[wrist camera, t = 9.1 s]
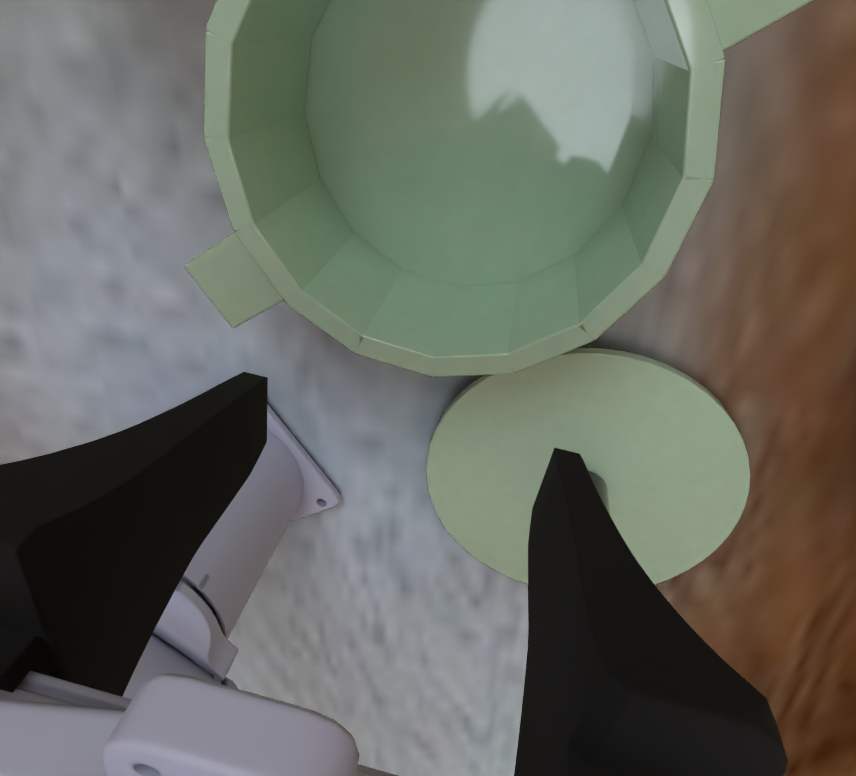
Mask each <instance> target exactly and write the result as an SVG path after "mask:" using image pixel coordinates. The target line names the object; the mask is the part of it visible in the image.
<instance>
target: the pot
mask: <svg viewBox="0 0 856 776" xmlns="http://www.w3.org/2000/svg"><path fill="white" fill-rule="evenodd" d="M812 1H814V0H217V2H216V4H215V7H214V9H213V12H212V14H211V17H210V19H209V22H208V24H207V27H206V30H207V31H206V44H205V102H204V137H206V138H204V141H205V144H206V147H207V150H208V153H209V157H210V160H211V163H212V166H213V169H214V172H215V175H216V178H217V181H218V184H219V187H220V190H221V193H222V197H223V200H224V203H225V206H226V209H227V212H228V215H229V218H230V221H231V224H232V227H233V230H234V231H235V232H234V233H233V234H231V235H230V236H228V237H227V238H225V239H224V240H222V241H221V242H219V243H218V244H216V245H215V246H213V247H212V248H210V249H209V250H207V251H205V252H204V253H202V254H201V255H199V256H198V257H196V258H195V259H193V260H192V261H190V262H189V263H188V264H186V265H185V269H186V270H187V271H188V272H189V274H190V275H191V276H192V278H193V279H194V280H195V281H196V283H197V284H198V285H199V286H200V288H201V289H202V290H203V292H204V293H205V294H206V295H207V297H208V298H209V299H210V300H211V302H212V303H213V304H214V305H215V307H216V308H217V309H218V311H219V312H220V313H221V314H222V316H223V317H224V318H225V319H226V321H227V322H228V323H229V325H230V326H231V327H232V328H235V327H237V326H239V325H241V324H242V323H244V322H246V321H248V320H249V319H251V318H253V317H255V316H257V315H258V314H260V313H262V312H264V311H265V310H267V309H269V308H271V307H272V306H274V305H276V304H278V303H280V302H281V301H283V300H284V301H285V302H286V303H288V306H290V307H291V308H293V309H294V310H295V311H297V312H298V313H300V314H301V315H302V316H304V317H305V318H306V319H308V320H309V321H311V322H312V323H313V324H315V325H316V326H318V327H319V328H320V329H322V330H323V331H325V332H326V333H327V334H329V335H330V336H332V337H333V338H334V339H336V340H337V341H338V342H340V343H341V344H343V345H344V346H345V347H347V348H348V349H350V350H351V351H352V352H354V353H356V354H359V355H362V356H365V357H369V358H372V359H375V360H378V361H382V362H385V363H388V364H391V365H395V366H398V367H401V368H404V369H408V370H411V371H414V372H417V373H421V374H424V375H427V376H430V377H432V376H433V377H442V376H468V375H494V374H513V373H517V372H519V371H521V370H524V369H526V368H529V367H531V366H534V365H536V364H539V363H541V362H544V361H546V360H548V359H551V358H553V357H556V356H558V355H561V354H563V353H566V352H568V351H571V350H573V349H576V348H578V347H580V346H583V345H585V344H588V343H590V342H592V341H593V340H596V339H597V338H598V337H600V336H601V335H602V334H603V333H604V332H605V331H606V330H607V329H608V328H609V327H610V326H612V325H613V324H614V323H615V322H616V321H617V320H618V319H619V318H620V317H621V316H623V315H624V314H625V313H626V312H627V311H628V310H629V309H630V308H631V307H632V306H633V305H635V304H636V303H637V302H638V301H639V300H640V299H641V298H642V297H643V296H644V295H646V294H647V293H648V292H649V291H650V290H651V289H652V288H653V287H654V286H655V285H656V284H658V283H659V282H660V281H661V280H662V279H663V278H664V276H665V275H666V274H667V272H668V270H669V268H670V266H671V264H672V262H673V260H674V258H675V256H676V255H677V253H678V251H679V249H680V247H681V245H682V243H683V241H684V239H685V237H686V235H687V233H688V231H689V229H690V227H691V225H692V223H693V221H694V219H695V217H696V215H697V213H698V211H699V209H700V207H701V205H702V203H703V201H704V199H705V197H706V195H707V193H708V191H709V189H710V187H711V185H712V184H713V179H714V177H715V166H716V156H717V145H718V134H719V124H720V113H721V102H722V91H723V81H724V70H725V60H724V52H723V51H725V50H727V49H729V48H731V47H732V46H734V45H736V44H738V43H739V42H741V41H743V40H745V39H746V38H748V37H750V36H752V35H754V34H755V33H757V32H759V31H761V30H762V29H764V28H766V27H768V26H769V25H771V24H773V23H775V22H777V21H778V20H780V19H782V18H784V17H785V16H787V15H789V14H791V13H792V12H794V11H796V10H798V9H800V8H801V7H803V6H805V5H807V4H808V3H810V2H812Z"/></svg>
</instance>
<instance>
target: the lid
mask: <svg viewBox="0 0 856 776" xmlns="http://www.w3.org/2000/svg"><path fill="white" fill-rule="evenodd" d="M554 448H559V449H563V450H567V451H571V452H575V453H579V454H580V455H581V457H582V458H583V460H584V463H585V465H586V467H587V469H588V472H589V474H590V476H591V478H592V480H593V483H594V485H595V487H596V489H597V491H598V493H599V495H600V497H601V499H602V501H603V503H604V505H605V507H606V509H607V511H608V513H609V515H610V516H611V518H612V520H613V522H614V524H615V526H616V527H617V529H618V531H619V533H620V534H621V536H622V538H623V539H624V541H625V543H626V544H627V546H628V547H629V549H630V551H631V552H632V554H633V555H634V557H635V558H636V560H637V562H638V563H639V564H640V566H641V567H642V568H643V570H644V571H645V573H646V574H647V575H648V577H649V578H650V579H651V581H652V582H653V583H654V584H657V583H660V582H663V581H665V580H668V579H671V578H673V577H675V576H677V575H679V574H681V573H683V572H685V571H687V570H689V569H691V568H692V567H694V566H695V565H697V564H698V563H700V562H701V561H703V560H704V559H705V558H707V557H708V556H709V555H710V554H711V553H713V552H714V551H715V550H716V549H717V548H718V547H719V546H720V545H721V544H722V543H723V542H724V541H725V540H726V538H727V537H728V536H729V535H730V533H731V532H732V530H733V529H734V527H735V526H736V524H737V523H738V521H739V519H740V517H741V514H742V512H743V510H744V508H745V505H746V501H747V497H748V493H749V487H750V465H749V457H748V453H747V450H746V447H745V444H744V441H743V438H742V436H741V434H740V432H739V430H738V428H737V426H736V424H735V422H734V420H733V418H732V417H731V415H730V414H729V413H728V412H727V410H726V409H725V408H724V406H723V405H722V404H721V402H720V401H719V400H718V399H717V398H716V397H714V396H713V395H712V394H711V393H710V392H709V391H708V390H707V389H706V388H705V387H704V386H702V385H701V384H699V383H698V382H696V381H695V380H694V379H692V378H691V377H689V376H688V375H686V374H684V373H682V372H681V371H679V370H677V369H675V368H673V367H671V366H669V365H667V364H664V363H662V362H659V361H656V360H654V359H651V358H648V357H645V356H641V355H637V354H633V353H629V352H625V351H619V350H611V349H603V348H576V349H573V350H571V351H568V352H566V353H563V354H561V355H558V356H556V357H553V358H551V359H548V360H546V361H544V362H541V363H539V364H536V365H534V366H531V367H529V368H526V369H524V370H521V371H519V372H517V373H513V374H494V375H483V376H482V377H480V378H479V379H477V380H476V381H474V382H473V383H471V384H470V385H469V386H468V387H467V388H466V389H465V390H463V391H462V392H461V393H460V394H459V395H458V396H457V397H456V398H455V399H454V401H453V402H452V403H451V404H450V405H449V407H448V408H447V409H446V411H445V412H444V414H443V415H442V417H441V419H440V420H439V422H438V424H437V426H436V429H435V431H434V434H433V436H432V439H431V442H430V446H429V451H428V455H427V465H426V477H427V485H428V490H429V494H430V498H431V501H432V504H433V506H434V508H435V511H436V513H437V515H438V517H439V519H440V520H441V522H442V523H443V525H444V526H445V528H446V530H447V531H448V532H449V533H450V534H451V535H452V537H453V538H454V539H455V540H456V541H457V542H458V543H459V544H460V545H461V546H462V547H463V548H464V549H465V550H466V551H467V552H468V553H470V554H471V555H472V556H474V557H475V558H476V559H478V560H479V561H480V562H482V563H483V564H485V565H487V566H488V567H490V568H492V569H493V570H495V571H497V572H499V573H501V574H503V575H506V576H508V577H510V578H512V579H515V580H518V581H520V582H523V583H526V584H528V540H529V531H530V523H531V515H532V508H533V505H534V502H535V499H536V497H537V494H538V491H539V489H540V486H541V483H542V480H543V478H544V475H545V472H546V469H547V467H548V464H549V461H550V458H551V456H552V453H553V450H554Z"/></svg>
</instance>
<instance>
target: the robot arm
mask: <svg viewBox="0 0 856 776" xmlns="http://www.w3.org/2000/svg"><path fill="white" fill-rule="evenodd" d="M321 499H323V500H324V501H322V500H321ZM340 499H341V495H340V493H339V492H338V491H337V489H336V488H335V487H334V486H333V484H332V483H331V482H330V481H329V479H328V478H327V477H326V476H325V474H324V473H323V472H322V471H321V469H320V468H319V467H318V466H317V465H316V463H315V462H314V461H313V460H312V458H311V457H310V456H309V455H308V453H307V452H306V451H305V450H304V448H303V447H302V446H301V445H300V444H299V442H298V441H297V440H296V439H295V437H294V436H293V435H292V434H291V432H290V431H289V430H288V429H287V427H286V426H285V425H284V424H283V423H282V421H281V420H280V419H279V418H278V416H277V415H276V414H275V413H274V411H273V410H272V409H271V408H270V406H269V405H268V404H267V377H263V376H259V375H254V374H250V373H246V372H243V373H241V374H239V375H237V376H235V377H233V378H231V379H229V380H227V381H225V382H223V383H221V384H220V385H218V386H216V387H214V388H212V389H210V390H208V391H206V392H205V393H203V394H201V395H199V396H197V397H195V398H193V399H191V400H189V401H187V402H185V403H183V404H181V405H179V406H177V407H175V408H173V409H171V410H169V411H166V412H164V413H162V414H160V415H158V416H155V417H153V418H151V419H149V420H147V421H144V422H142V423H140V424H138V425H135V426H133V427H130V428H128V429H125V430H123V431H120V432H117V433H115V434H112V435H109V436H106V437H103V438H101V439H98V440H95V441H92V442H89V443H85V444H82V445H78V446H75V447H71V448H68V449H65V450H61V451H58V452H54V453H51V454H47V455H43V456H39V457H35V458H30V459H26V460H22V461H17V462H12V463H7V464H2V465H0V776H397V775H394V774H390V773H387V772H383V771H380V770H376V769H373V768H369V767H366V766H362V765H359V764H358V761H359V752H358V749H357V746H356V743H355V740H354V738H353V736H352V734H350V733H349V732H348V731H347V730H346V729H345V728H344V727H342V726H341V725H340V724H339V723H338V722H337V721H335V720H334V719H331V718H329V717H327V716H324V715H322V714H320V713H317V712H315V711H313V710H311V709H307V708H303V707H300V706H296V705H293V704H289V703H286V702H282V701H279V700H275V699H271V698H268V697H264V696H261V695H257V694H254V693H250V692H247V691H243V690H239V689H238V688H237V686H236V685H235V683H234V682H233V681H232V680H230V679H229V678H227V677H226V675H227V673H228V671H229V669H230V667H231V665H232V663H233V661H234V659H235V657H236V655H237V653H238V648H237V647H235V646H234V645H233V644H232V643H231V642H230V641H229V640H228V637H229V635H230V633H231V631H232V629H233V628H234V626H235V624H236V622H237V620H238V618H239V616H240V614H241V612H242V611H243V609H244V607H245V605H246V603H247V601H248V599H249V597H250V595H251V594H252V592H253V590H254V588H255V586H256V584H257V582H258V580H259V578H260V577H261V575H262V573H263V571H264V569H265V567H266V565H267V563H268V561H269V559H270V558H271V556H272V554H273V552H274V550H275V548H276V546H277V544H278V542H279V541H280V539H281V537H282V535H283V533H284V531H285V529H286V527H287V525H288V524H289V522H292V521H295V520H298V519H300V518H303V517H306V516H309V515H312V514H315V513H318V512H320V511H323V510H326V509H329V508H332V507H335V506H336V505H338V503H339V501H340ZM528 613H529V634H528V653H527V664H526V674H525V685H524V695H523V704H522V714H521V723H520V732H519V740H518V749H517V757H516V765H515V774H514V776H783V775H784V774H785V773H786V770H787V762H788V759H787V756H786V753H785V750H784V747H783V743H782V740H781V736H780V733H779V730H778V727H777V724H776V721H775V719H774V716H773V714H772V711H771V709H770V706H769V704H768V701H767V699H766V697H764V696H763V695H762V694H761V693H760V692H759V691H758V690H756V689H755V688H754V687H753V686H752V685H751V684H750V683H748V682H747V681H746V680H745V679H744V678H743V677H742V676H741V675H739V674H738V673H737V672H736V671H735V670H734V669H733V668H731V667H730V666H729V665H728V664H727V663H726V662H725V661H724V660H723V659H722V658H721V657H720V656H719V655H718V654H717V653H716V652H715V651H714V650H713V649H712V648H711V647H709V646H708V645H707V644H706V643H705V642H704V641H703V640H702V639H701V638H700V637H699V635H698V634H697V633H696V632H695V631H694V630H693V629H692V628H691V627H690V626H689V625H688V624H687V623H686V622H685V621H684V619H683V618H682V617H681V616H680V615H679V614H678V612H677V611H676V610H675V609H674V608H673V607H672V605H671V604H670V603H669V602H668V601H667V600H666V599H665V597H664V596H663V595H662V594H661V592H660V591H659V590H658V589H657V587H656V586H655V585H654V583H653V582H652V581H651V579H650V578H649V577H648V575H647V574H646V573H645V571H644V570H643V568H642V567H641V566H640V564H639V563H638V562H637V560H636V558H635V557H634V555H633V554H632V552H631V551H630V549H629V547H628V546H627V544H626V543H625V541H624V539H623V538H622V536H621V534H620V533H619V531H618V529H617V527H616V526H615V524H614V522H613V520H612V518H611V516H610V515H609V513H608V511H607V509H606V507H605V505H604V503H603V501H602V499H601V497H600V495H599V493H598V491H597V489H596V487H595V485H594V483H593V480H592V478H591V476H590V474H589V472H588V469H587V467H586V465H585V463H584V460H583V458H582V457H581V455H580V454H579V453H575V452H571V451H567V450H563V449H559V448H554V450H553V453H552V456H551V458H550V461H549V464H548V467H547V469H546V472H545V475H544V478H543V480H542V483H541V486H540V489H539V491H538V494H537V497H536V499H535V502H534V505H533V508H532V515H531V523H530V531H529V540H528Z"/></svg>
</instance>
